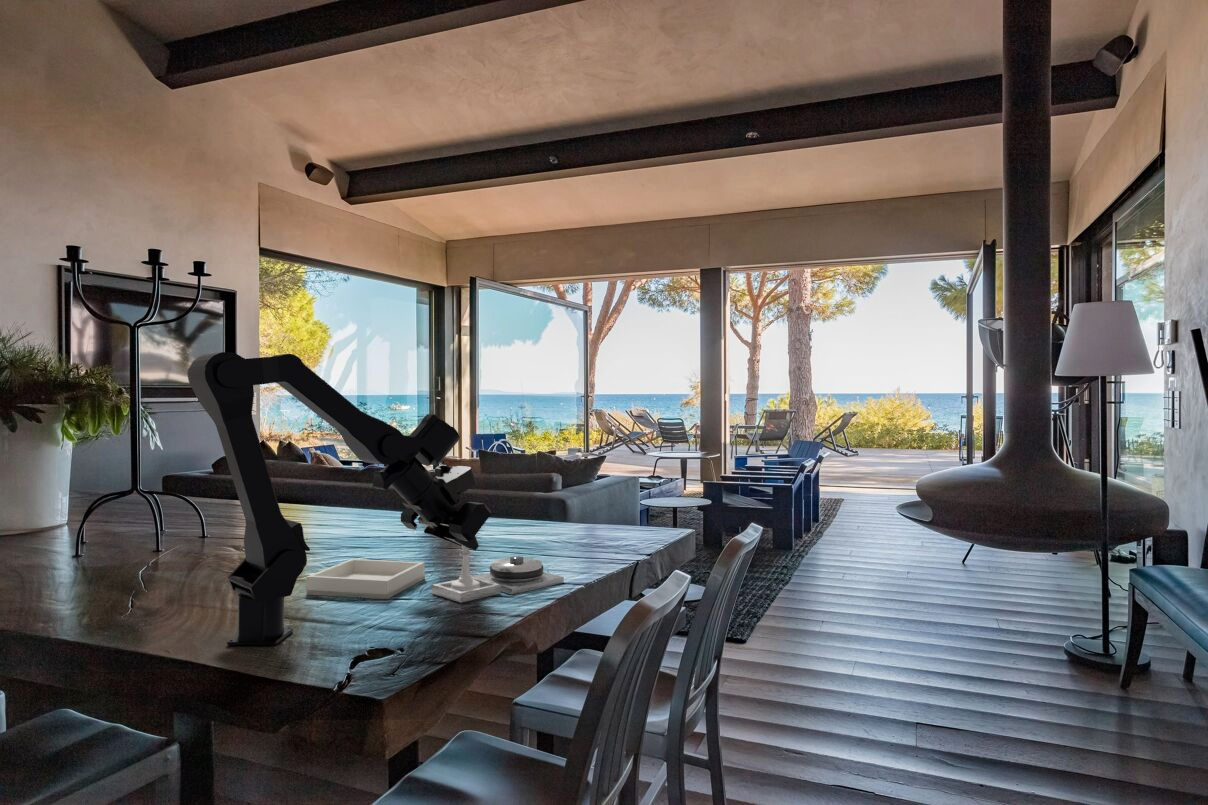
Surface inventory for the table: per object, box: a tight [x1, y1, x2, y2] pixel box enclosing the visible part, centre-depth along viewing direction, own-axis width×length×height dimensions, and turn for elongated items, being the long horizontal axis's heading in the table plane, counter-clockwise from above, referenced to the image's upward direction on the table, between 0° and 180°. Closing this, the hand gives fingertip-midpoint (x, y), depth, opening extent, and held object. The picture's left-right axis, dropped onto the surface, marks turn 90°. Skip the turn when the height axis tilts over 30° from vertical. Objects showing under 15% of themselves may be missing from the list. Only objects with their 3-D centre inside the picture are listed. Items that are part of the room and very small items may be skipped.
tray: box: [305, 558, 426, 600], centre depth 130 cm, size 15×15×3 cm
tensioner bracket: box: [431, 555, 565, 604], centre depth 130 cm, size 21×12×4 cm, turn 136°
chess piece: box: [451, 545, 480, 592], centre depth 125 cm, size 5×5×10 cm
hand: (472, 547), depth 126 cm, fingers closed on chess piece
